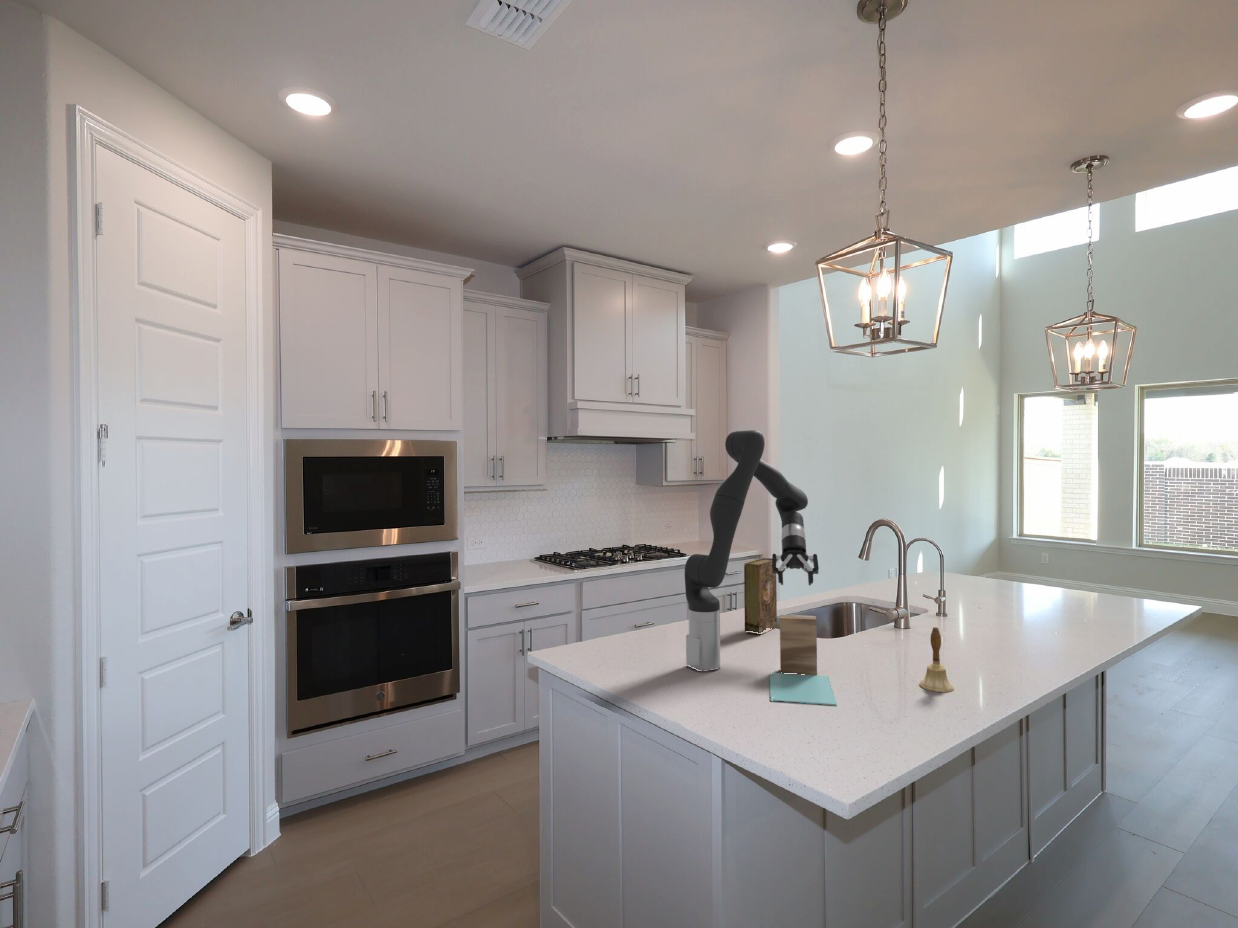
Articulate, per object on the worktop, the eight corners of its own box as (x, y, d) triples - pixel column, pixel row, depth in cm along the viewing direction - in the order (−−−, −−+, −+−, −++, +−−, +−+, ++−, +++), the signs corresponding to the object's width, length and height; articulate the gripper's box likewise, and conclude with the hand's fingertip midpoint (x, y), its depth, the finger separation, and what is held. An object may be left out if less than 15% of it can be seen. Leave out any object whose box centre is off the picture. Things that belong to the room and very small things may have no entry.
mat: (836, 705, 162) (836, 703, 162) (770, 701, 165) (770, 699, 165) (828, 677, 183) (828, 675, 183) (770, 673, 187) (770, 672, 187)
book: (764, 624, 245) (763, 557, 245) (778, 626, 241) (777, 558, 242) (744, 633, 232) (743, 563, 232) (759, 636, 228) (758, 564, 228)
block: (817, 675, 185) (816, 619, 185) (780, 673, 187) (780, 617, 187) (816, 671, 189) (815, 616, 189) (780, 669, 191) (779, 614, 191)
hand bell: (958, 693, 170) (957, 631, 170) (924, 691, 171) (923, 630, 171) (948, 682, 178) (947, 624, 178) (915, 681, 180) (915, 623, 180)
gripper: (770, 534, 210) (771, 576, 199) (816, 533, 207) (820, 577, 196) (771, 547, 216) (772, 590, 205) (816, 547, 212) (819, 590, 201)
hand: (795, 583), depth 200 cm, fingers open, 8 cm apart
